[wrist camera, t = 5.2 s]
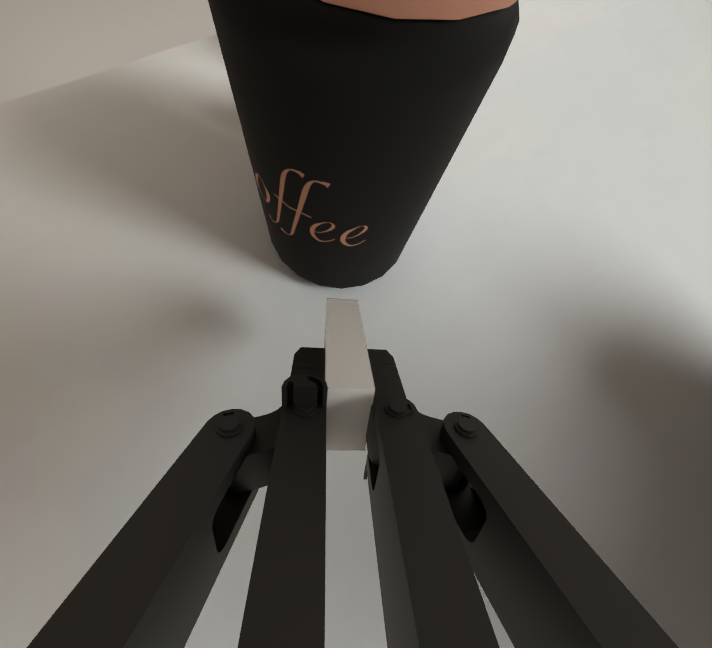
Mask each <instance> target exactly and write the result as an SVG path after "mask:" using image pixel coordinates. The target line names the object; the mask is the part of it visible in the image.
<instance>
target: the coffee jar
mask: <svg viewBox="0 0 712 648" xmlns="http://www.w3.org/2000/svg"><path fill="white" fill-rule="evenodd" d="M208 1H209V5H210V9H211V13H212V17H213V21H214V24H215V28H216V32H217V36H218V40H219V43H220V47H221V51H222V55H223V59H224V62H225V66H226V70H227V74H228V78H229V81H230V85H231V89H232V93H233V96H234V100H235V104H236V108H237V112H238V115H239V119H240V123H241V127H242V131H243V134H244V138H245V142H246V146H247V149H248V153H249V157H250V161H251V165H252V168H253V172H254V176H255V180H256V184H257V187H258V191H259V195H260V199H261V203H262V206H263V210H264V214H265V218H266V221H267V225H268V229H269V233H270V237H271V240H272V243H273V245H274V247H275V249H276V250H277V252H278V254H279V256H280V258H281V259H282V261H283V262H284V263H285V264H287V265H288V266H289V267H290V268H291V269H292V270H293V271H294V272H295V273H296V274H297V275H299V276H301V277H303V278H305V279H307V280H310V281H312V282H314V283H316V284H318V285H322V286H328V287H335V288H347V287H354V286H361V285H365V284H367V283H369V282H371V281H373V280H375V279H377V278H379V277H381V276H383V275H384V274H385V273H386V272H387V271H388V270H389V269H390V268H391V267H392V266H393V265H394V264H395V263H396V261H397V260H398V258H399V256H400V254H401V252H402V250H403V248H404V246H405V245H406V243H407V241H408V239H409V237H410V235H411V233H412V231H413V229H414V228H415V226H416V224H417V222H418V220H419V218H420V216H421V214H422V213H423V211H424V209H425V207H426V205H427V203H428V201H429V199H430V198H431V196H432V194H433V192H434V190H435V188H436V186H437V184H438V183H439V181H440V179H441V177H442V175H443V173H444V171H445V169H446V167H447V166H448V164H449V162H450V160H451V158H452V156H453V154H454V152H455V151H456V149H457V147H458V145H459V143H460V141H461V139H462V137H463V136H464V134H465V132H466V130H467V128H468V126H469V124H470V122H471V121H472V119H473V117H474V115H475V113H476V111H477V109H478V107H479V106H480V104H481V102H482V100H483V98H484V96H485V94H486V92H487V90H488V89H489V87H490V85H491V83H492V81H493V79H494V77H495V75H496V74H497V72H498V70H499V68H500V66H501V64H502V62H503V60H504V57H505V55H506V53H507V51H508V48H509V46H510V44H511V41H512V39H513V37H514V34H515V31H516V28H517V25H518V22H519V3H518V0H208Z"/></svg>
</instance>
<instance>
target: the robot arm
mask: <svg viewBox="0 0 712 648" xmlns="http://www.w3.org/2000/svg"><path fill="white" fill-rule="evenodd" d="M366 442H367V450H368V455H367V460H366V466H365V471H364V479H367V476H368V485H369V493H370V502H371V510H372V519H373V528H374V536H375V545H376V553H377V562H378V570H379V579H380V588H381V596H382V605H383V613H384V622H385V630H386V639H387V647H388V648H499V645H498V642H497V639H496V636H495V633H494V631H493V628H492V625H491V622H490V619H489V616H488V613H487V610H486V607H485V605H484V602H483V599H482V596H481V593H480V590H479V587H478V584H477V581H476V579H475V576H474V573H475V575H476V577H477V579H478V581H479V583H480V584H481V586H482V588H483V590H484V592H485V594H486V595H487V597H488V599H489V601H490V603H491V605H492V607H493V608H494V610H495V612H496V614H497V616H498V618H499V619H500V621H501V623H502V625H503V627H504V629H505V630H506V632H507V634H508V636H509V638H510V640H511V641H512V643H513V645H514V647H515V648H678V647H677V645H676V644H675V643H674V642H673V641H672V640H671V639H670V637H669V636H668V635H667V634H666V633H665V632H664V630H663V629H662V628H661V627H660V626H659V625H658V624H657V622H656V621H655V620H654V619H653V618H652V617H651V616H650V614H649V613H648V612H647V611H646V610H645V609H644V608H643V606H642V605H641V604H640V603H639V602H638V601H637V599H636V598H635V597H634V596H633V595H632V594H631V593H630V591H629V590H628V589H627V588H626V587H625V586H624V585H623V583H622V582H621V581H620V580H619V579H618V578H617V577H616V575H615V574H614V573H613V572H612V571H611V570H610V569H609V567H608V566H607V565H606V564H605V563H604V562H603V560H602V559H601V558H600V557H599V556H598V555H597V554H596V552H595V551H594V550H593V549H592V548H591V547H590V546H589V544H588V543H587V542H586V541H585V540H584V539H583V538H582V536H581V535H580V534H579V533H578V532H577V531H576V530H575V528H574V527H573V526H572V525H571V524H570V523H569V521H568V520H567V519H566V518H565V517H564V516H563V515H562V513H561V512H560V511H559V510H558V509H557V508H556V507H555V505H554V504H553V503H552V502H551V501H550V500H549V499H548V497H547V496H546V495H545V494H544V493H543V492H542V490H541V489H540V488H539V487H538V486H537V485H536V484H535V482H534V481H533V480H532V479H531V478H530V477H529V476H528V474H527V473H526V472H525V471H524V470H523V469H522V468H521V466H520V465H519V464H518V463H517V462H516V461H515V460H514V458H513V457H512V456H511V455H510V454H509V453H508V451H507V450H506V449H505V448H504V447H503V446H502V445H501V443H500V442H499V441H498V440H497V439H496V438H495V437H494V435H493V434H492V433H491V432H490V431H489V430H488V429H487V427H486V426H485V425H484V424H483V423H482V422H481V421H480V420H478V419H477V418H475V417H474V416H472V415H470V414H467V413H463V412H452V413H450V414H447V416H446V417H445V418H444V421H443V420H440V419H436V418H432V417H429V416H426V415H423V414H421V413H419V412H418V411H417V409H416V407H415V405H414V404H413V403H412V402H410V401H409V400H408V399H406V396H405V393H404V389H403V386H402V383H401V380H400V377H399V374H398V371H397V368H396V364H395V361H394V358H393V357H392V356H391V355H390V353H389V352H388V351H387V350H375V349H367V346H366V341H365V336H364V331H363V326H362V321H361V316H360V310H359V305H358V300H351V299H334V298H327V306H326V323H325V340H324V348H307V347H301V348H300V349H299V350H298V351H297V352H296V353H295V354H294V360H293V365H292V371H291V376H290V377H289V378H288V379H286V380H285V381H284V383H283V385H282V406H281V407H280V408H279V409H278V410H276V411H274V412H272V413H270V414H267V415H263V416H259V417H253V416H252V415H251V414H250V413H249V412H247V411H244V410H242V409H230V410H226V411H222V412H220V413H218V414H216V415H214V416H213V417H212V418H211V419H210V420H209V421H207V423H206V424H205V425H204V426H203V428H202V429H201V430H200V431H199V433H198V434H197V435H196V436H195V438H194V439H193V440H192V441H191V443H190V444H189V445H188V446H187V448H186V449H185V450H184V451H183V453H182V454H181V455H180V456H179V458H178V459H177V460H176V461H175V463H174V464H173V465H172V466H171V468H170V469H169V470H168V471H167V473H166V474H165V475H164V476H163V478H162V479H161V480H160V481H159V483H158V484H157V485H156V486H155V488H154V489H153V490H152V491H151V493H150V494H149V495H148V496H147V498H146V499H145V500H144V501H143V503H142V504H141V505H140V506H139V508H138V509H137V510H136V511H135V513H134V514H133V515H132V516H131V518H130V519H129V520H128V522H127V523H126V524H125V525H124V527H123V528H122V529H121V530H120V532H119V533H118V534H117V535H116V537H115V538H114V539H113V540H112V542H111V543H110V544H109V545H108V547H107V548H106V549H105V550H104V552H103V553H102V554H101V555H100V557H99V558H98V559H97V560H96V562H95V563H94V564H93V565H92V567H91V568H90V569H89V570H88V572H87V573H86V574H85V575H84V577H83V578H82V579H81V580H80V582H79V583H78V584H77V585H76V587H75V588H74V589H73V590H72V592H71V593H70V594H69V595H68V597H67V598H66V599H65V600H64V602H63V603H62V604H61V605H60V607H59V608H58V609H57V610H56V612H55V613H54V614H53V615H52V617H51V618H50V619H49V620H48V622H47V623H46V624H45V625H44V627H43V628H42V629H41V630H40V632H39V633H38V634H37V635H36V637H35V638H34V639H33V640H32V642H31V643H30V644H29V645H28V647H27V648H184V646H185V644H186V642H187V640H188V638H189V636H190V634H191V632H192V630H193V627H194V625H195V623H196V621H197V619H198V617H199V615H200V613H201V610H202V608H203V606H204V604H205V602H206V600H207V598H208V596H209V593H210V591H211V589H212V587H213V585H214V583H215V581H216V579H217V576H218V574H219V572H220V570H221V568H222V566H223V564H224V562H225V559H226V557H227V555H228V553H229V551H230V549H231V547H232V545H233V542H234V540H235V538H236V536H237V534H238V532H239V530H240V528H241V525H242V523H243V521H244V519H245V517H246V515H247V513H248V511H249V508H250V506H251V504H252V502H253V500H254V498H255V496H256V494H257V492H258V488H261V487H264V486H267V485H268V487H267V492H266V498H265V503H264V508H263V514H262V519H261V525H260V530H259V535H258V541H257V546H256V552H255V557H254V562H253V568H252V573H251V578H250V584H249V589H248V595H247V600H246V605H245V611H244V616H243V622H242V627H241V632H240V638H239V643H238V648H324V642H325V520H326V450H365V446H366ZM473 572H474V573H473Z"/></svg>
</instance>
